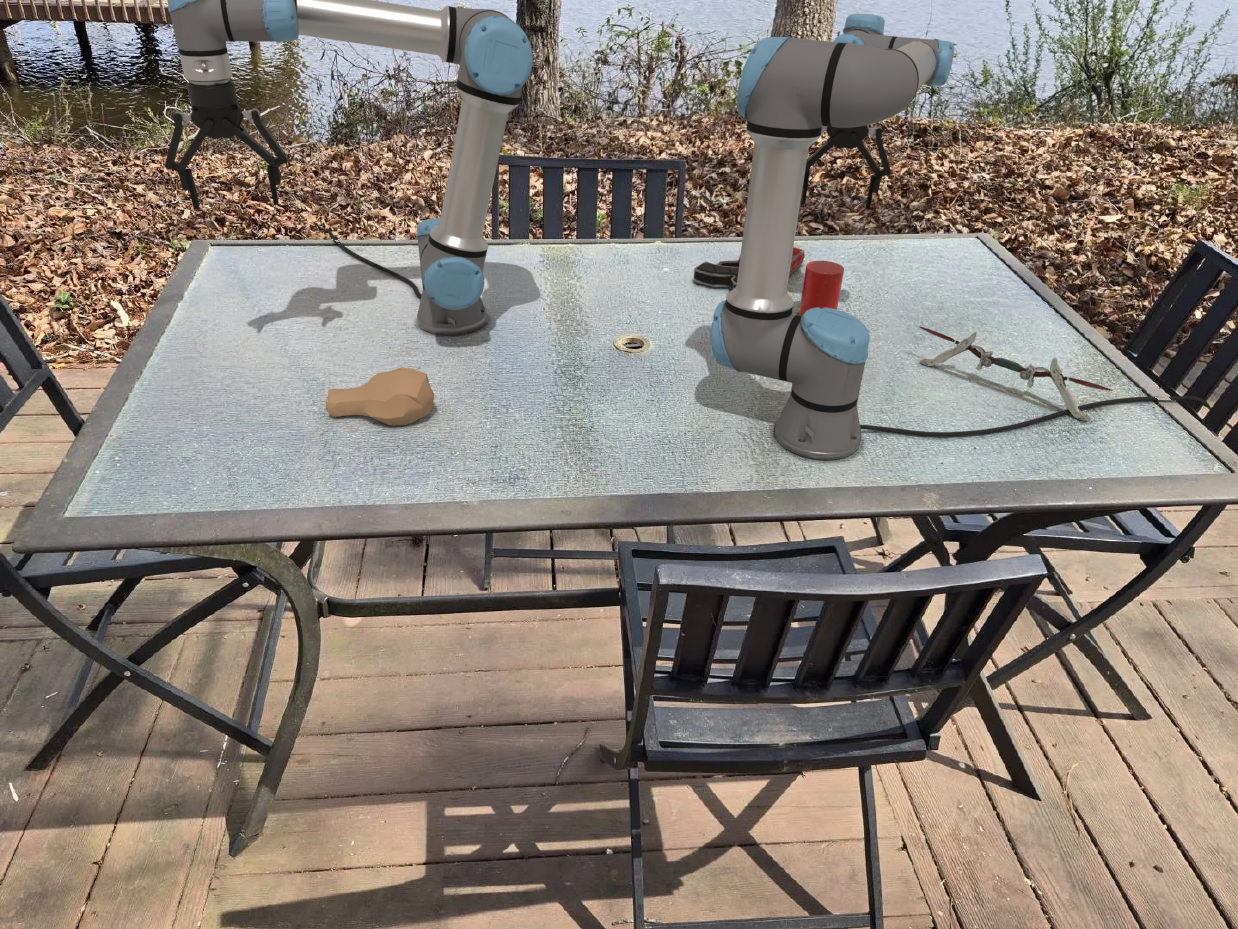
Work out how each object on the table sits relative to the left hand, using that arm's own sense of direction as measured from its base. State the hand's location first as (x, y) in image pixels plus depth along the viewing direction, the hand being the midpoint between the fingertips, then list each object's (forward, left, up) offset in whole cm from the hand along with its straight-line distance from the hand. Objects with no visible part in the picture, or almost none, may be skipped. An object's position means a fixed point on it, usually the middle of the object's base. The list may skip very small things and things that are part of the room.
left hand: (237, 205), depth 160 cm
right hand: (+61, +103, -6) cm, 120 cm away
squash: (+33, +5, -32) cm, 47 cm away
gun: (+34, +112, -32) cm, 122 cm away
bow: (+106, +102, -32) cm, 151 cm away
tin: (+61, +103, -32) cm, 124 cm away
